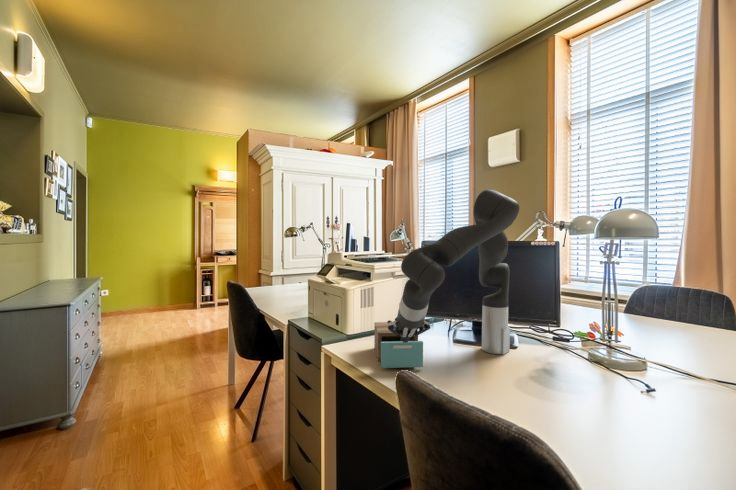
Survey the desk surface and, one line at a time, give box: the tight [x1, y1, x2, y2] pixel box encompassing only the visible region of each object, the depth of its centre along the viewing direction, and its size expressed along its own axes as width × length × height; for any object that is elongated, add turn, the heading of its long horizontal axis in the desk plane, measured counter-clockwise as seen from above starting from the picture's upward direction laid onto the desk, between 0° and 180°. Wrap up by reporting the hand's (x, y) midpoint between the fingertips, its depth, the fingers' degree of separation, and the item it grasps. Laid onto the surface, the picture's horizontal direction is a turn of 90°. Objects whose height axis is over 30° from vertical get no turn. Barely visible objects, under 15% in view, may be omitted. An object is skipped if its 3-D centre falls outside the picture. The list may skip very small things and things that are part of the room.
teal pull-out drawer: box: [380, 340, 424, 369], centre depth 122 cm, size 14×14×8 cm
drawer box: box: [373, 321, 419, 362], centre depth 132 cm, size 14×14×10 cm
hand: (404, 339), depth 110 cm, fingers closed
